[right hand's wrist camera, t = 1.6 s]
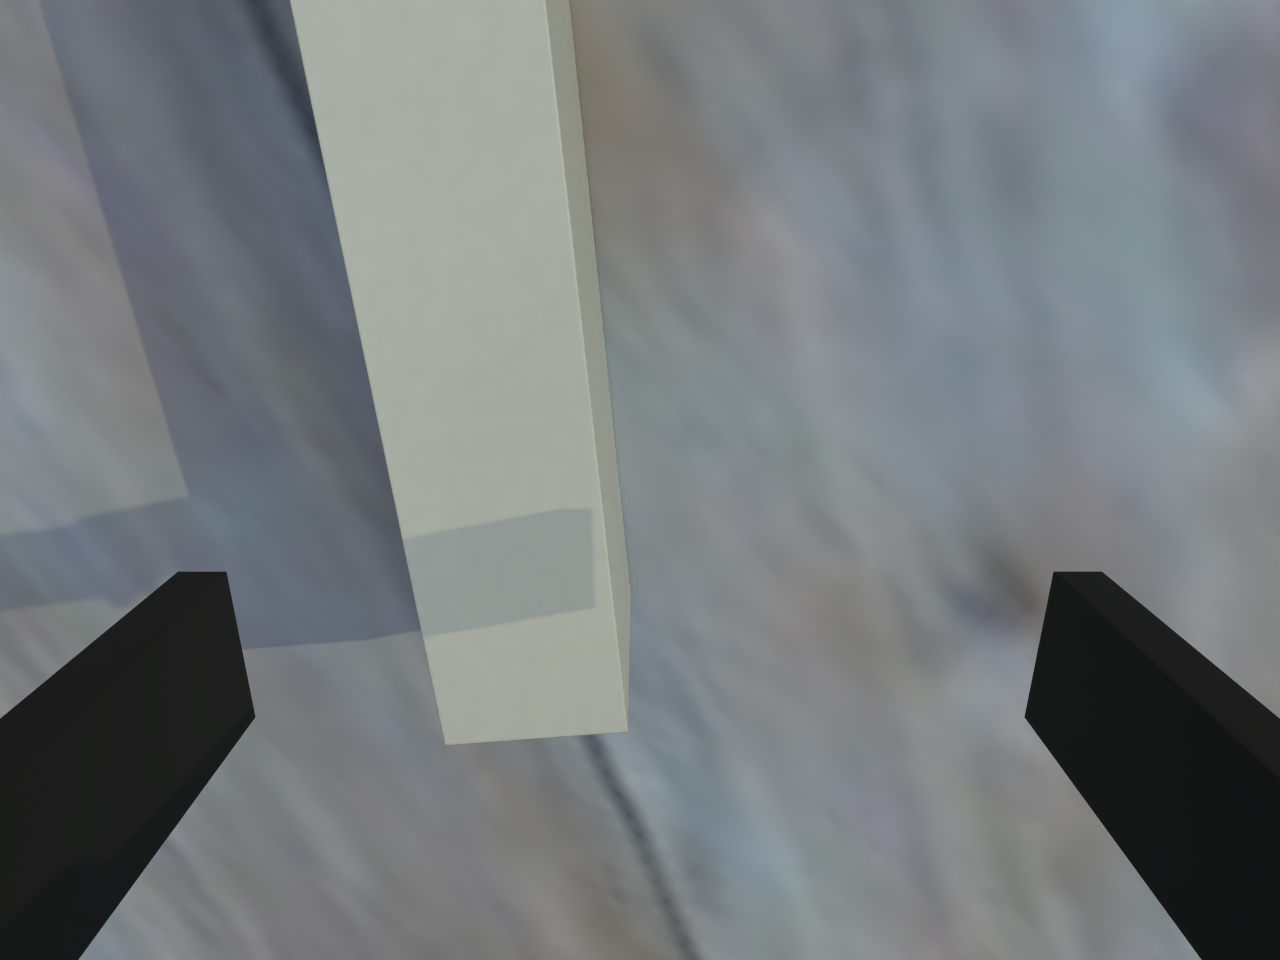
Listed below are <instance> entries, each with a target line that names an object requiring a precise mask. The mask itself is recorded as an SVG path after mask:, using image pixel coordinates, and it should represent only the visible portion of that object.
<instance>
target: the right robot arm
mask: <svg viewBox="0 0 1280 960" xmlns="http://www.w3.org/2000/svg"><path fill="white" fill-rule="evenodd" d="M254 718H255V713H254V708H253V703H252V698H251V693H250V688H249V683H248V678H247V673H246V668H245V663H244V658H243V653H242V648H241V643H240V638H239V633H238V628H237V623H236V618H235V613H234V608H233V603H232V598H231V593H230V588H229V583H228V578H227V573H226V572H177V573H176V574H175V575H174V576H172V577H171V578H170V579H169V580H167V581H166V582H165V583H164V584H163V585H161V586H160V587H159V588H158V589H157V590H155V591H154V592H153V593H152V594H151V595H149V596H148V597H147V598H146V599H144V600H143V601H142V602H141V603H140V604H138V605H137V606H136V607H135V608H134V609H132V610H131V611H130V612H129V613H128V614H126V615H125V616H124V617H123V618H122V619H120V620H119V621H118V622H117V623H115V624H114V625H113V626H112V627H111V628H109V629H108V630H107V631H106V632H105V633H103V634H102V635H101V636H100V637H99V638H97V639H96V640H95V641H94V642H92V643H91V644H90V645H89V646H88V647H86V648H85V649H84V650H83V651H82V652H80V653H79V654H78V655H77V656H76V657H74V658H73V659H72V660H71V661H69V662H68V663H67V664H66V665H65V666H63V667H62V668H61V669H60V670H59V671H57V672H56V673H55V674H54V675H53V676H51V677H50V678H49V679H48V680H46V681H45V682H44V683H43V684H42V685H40V686H39V687H38V688H37V689H36V690H34V691H33V692H32V693H31V694H30V695H28V696H27V697H26V698H25V699H24V700H22V701H21V702H20V703H19V704H17V705H16V706H15V707H14V708H13V709H11V710H10V711H9V712H8V713H7V714H5V715H4V716H3V717H2V718H1V719H0V960H78V959H79V958H80V957H81V955H82V954H83V953H84V951H85V950H86V948H87V947H88V946H89V944H90V943H91V942H92V940H93V939H94V938H95V936H96V935H97V933H98V932H99V931H100V929H101V928H102V927H103V925H104V924H105V922H106V921H107V920H108V918H109V917H110V916H111V914H112V913H113V911H114V910H115V909H116V907H117V906H118V905H119V903H120V902H121V901H122V899H123V898H124V896H125V895H126V894H127V892H128V891H129V890H130V888H131V887H132V885H133V884H134V883H135V881H136V880H137V879H138V877H139V876H140V874H141V873H142V872H143V870H144V869H145V868H146V866H147V865H148V864H149V862H150V861H151V859H152V858H153V857H154V855H155V854H156V853H157V851H158V850H159V848H160V847H161V846H162V844H163V843H164V842H165V840H166V839H167V837H168V836H169V835H170V833H171V832H172V831H173V829H174V828H175V827H176V825H177V824H178V822H179V821H180V820H181V818H182V817H183V816H184V814H185V813H186V811H187V810H188V809H189V807H190V806H191V805H192V803H193V802H194V800H195V799H196V798H197V796H198V795H199V794H200V792H201V791H202V790H203V788H204V787H205V785H206V784H207V783H208V781H209V780H210V779H211V777H212V776H213V774H214V773H215V772H216V770H217V769H218V768H219V766H220V765H221V763H222V762H223V761H224V759H225V758H226V757H227V755H228V754H229V753H230V751H231V750H232V748H233V747H234V746H235V744H236V743H237V742H238V740H239V739H240V737H241V736H242V735H243V733H244V732H245V731H246V729H247V728H248V726H249V725H250V724H251V722H252V721H253V720H254ZM1025 718H1026V720H1027V721H1028V722H1029V724H1030V725H1031V726H1032V728H1033V729H1034V731H1035V732H1036V733H1037V735H1038V736H1039V737H1040V739H1041V740H1042V742H1043V743H1044V744H1045V746H1046V747H1047V748H1048V750H1049V751H1050V753H1051V754H1052V755H1053V757H1054V758H1055V759H1056V761H1057V762H1058V763H1059V765H1060V766H1061V768H1062V769H1063V770H1064V772H1065V773H1066V774H1067V776H1068V777H1069V779H1070V780H1071V781H1072V783H1073V784H1074V785H1075V787H1076V788H1077V790H1078V791H1079V792H1080V794H1081V795H1082V796H1083V798H1084V799H1085V800H1086V802H1087V803H1088V805H1089V806H1090V807H1091V809H1092V810H1093V811H1094V813H1095V814H1096V816H1097V817H1098V818H1099V820H1100V821H1101V822H1102V824H1103V825H1104V827H1105V828H1106V829H1107V831H1108V832H1109V833H1110V835H1111V836H1112V837H1113V839H1114V840H1115V842H1116V843H1117V844H1118V846H1119V847H1120V848H1121V850H1122V851H1123V853H1124V854H1125V855H1126V857H1127V858H1128V859H1129V861H1130V862H1131V864H1132V865H1133V866H1134V868H1135V869H1136V870H1137V872H1138V873H1139V874H1140V876H1141V877H1142V879H1143V880H1144V881H1145V883H1146V884H1147V885H1148V887H1149V888H1150V890H1151V891H1152V892H1153V894H1154V895H1155V896H1156V898H1157V899H1158V901H1159V902H1160V903H1161V905H1162V906H1163V907H1164V909H1165V910H1166V911H1167V913H1168V914H1169V916H1170V917H1171V918H1172V920H1173V921H1174V922H1175V924H1176V925H1177V927H1178V928H1179V929H1180V931H1181V932H1182V933H1183V935H1184V936H1185V938H1186V939H1187V940H1188V942H1189V943H1190V944H1191V946H1192V947H1193V948H1194V950H1195V951H1196V953H1197V954H1198V955H1199V957H1200V958H1201V959H1202V960H1280V719H1279V718H1278V717H1277V716H1276V715H1275V714H1273V713H1272V712H1271V711H1270V710H1269V709H1267V708H1266V707H1265V706H1264V705H1263V704H1261V703H1260V702H1259V701H1258V700H1256V699H1255V698H1254V697H1253V696H1252V695H1250V694H1249V693H1248V692H1247V691H1246V690H1244V689H1243V688H1242V687H1241V686H1240V685H1238V684H1237V683H1236V682H1235V681H1233V680H1232V679H1231V678H1230V677H1229V676H1227V675H1226V674H1225V673H1224V672H1223V671H1221V670H1220V669H1219V668H1218V667H1217V666H1215V665H1214V664H1213V663H1212V662H1211V661H1209V660H1208V659H1207V658H1206V657H1204V656H1203V655H1202V654H1201V653H1200V652H1198V651H1197V650H1196V649H1195V648H1194V647H1192V646H1191V645H1190V644H1189V643H1188V642H1186V641H1185V640H1184V639H1183V638H1181V637H1180V636H1179V635H1178V634H1177V633H1175V632H1174V631H1173V630H1172V629H1171V628H1169V627H1168V626H1167V625H1166V624H1165V623H1163V622H1162V621H1161V620H1160V619H1158V618H1157V617H1156V616H1155V615H1154V614H1152V613H1151V612H1150V611H1149V610H1148V609H1146V608H1145V607H1144V606H1143V605H1142V604H1140V603H1139V602H1138V601H1137V600H1135V599H1134V598H1133V597H1132V596H1131V595H1129V594H1128V593H1127V592H1126V591H1125V590H1123V589H1122V588H1121V587H1120V586H1119V585H1117V584H1116V583H1115V582H1114V581H1113V580H1111V579H1110V578H1109V577H1108V576H1106V575H1105V574H1104V573H1103V572H1054V573H1053V578H1052V583H1051V588H1050V593H1049V598H1048V603H1047V608H1046V613H1045V618H1044V623H1043V628H1042V633H1041V638H1040V643H1039V648H1038V653H1037V658H1036V663H1035V668H1034V673H1033V678H1032V683H1031V688H1030V693H1029V698H1028V703H1027V708H1026V713H1025Z"/></svg>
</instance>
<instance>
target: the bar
mask: <svg viewBox="0 0 1280 960" xmlns="http://www.w3.org/2000/svg"><path fill="white" fill-rule="evenodd" d="M290 4H291V9H292V13H293V18H294V23H295V28H296V33H297V37H298V42H299V47H300V52H301V57H302V61H303V66H304V71H305V76H306V80H307V85H308V90H309V95H310V100H311V104H312V109H313V114H314V119H315V124H316V128H317V133H318V138H319V143H320V148H321V152H322V157H323V162H324V167H325V172H326V176H327V181H328V186H329V191H330V196H331V200H332V205H333V210H334V215H335V219H336V224H337V229H338V234H339V239H340V243H341V248H342V253H343V258H344V263H345V267H346V272H347V277H348V282H349V287H350V291H351V296H352V301H353V306H354V311H355V315H356V320H357V325H358V330H359V335H360V339H361V344H362V349H363V354H364V359H365V363H366V368H367V373H368V378H369V382H370V387H371V392H372V397H373V402H374V406H375V411H376V416H377V421H378V426H379V430H380V435H381V440H382V445H383V450H384V454H385V459H386V464H387V469H388V474H389V478H390V483H391V488H392V493H393V498H394V502H395V507H396V512H397V517H398V521H399V526H400V531H401V536H402V541H403V545H404V550H405V555H406V560H407V565H408V569H409V574H410V579H411V584H412V589H413V593H414V598H415V603H416V608H417V613H418V617H419V622H420V627H421V632H422V637H423V641H424V646H425V651H426V656H427V661H428V665H429V670H430V675H431V680H432V684H433V689H434V694H435V699H436V704H437V708H438V713H439V718H440V723H441V728H442V732H443V737H444V742H445V745H456V744H469V743H483V742H496V741H510V740H523V739H537V738H550V737H564V736H577V735H591V734H604V733H618V732H627V730H628V697H629V650H630V604H631V591H630V582H629V572H628V562H627V553H626V543H625V533H624V524H623V514H622V504H621V495H620V485H619V476H618V466H617V456H616V447H615V437H614V427H613V418H612V408H611V398H610V389H609V379H608V369H607V360H606V350H605V340H604V331H603V321H602V311H601V302H600V292H599V282H598V273H597V263H596V253H595V244H594V234H593V225H592V215H591V205H590V196H589V186H588V176H587V167H586V157H585V147H584V138H583V128H582V118H581V109H580V99H579V89H578V80H577V70H576V60H575V51H574V41H573V31H572V22H571V12H570V2H569V0H290Z"/></svg>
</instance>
